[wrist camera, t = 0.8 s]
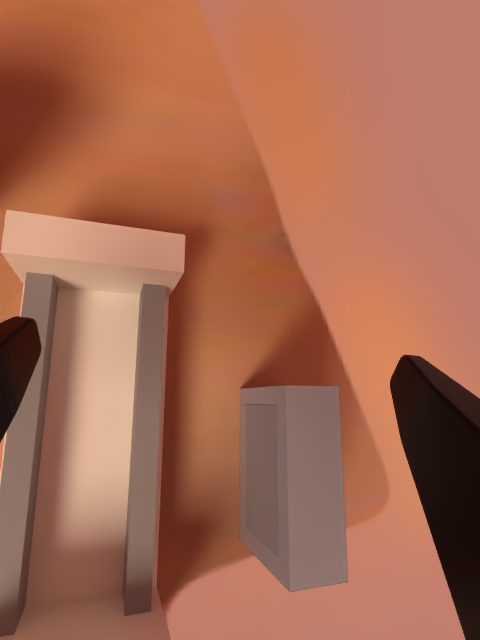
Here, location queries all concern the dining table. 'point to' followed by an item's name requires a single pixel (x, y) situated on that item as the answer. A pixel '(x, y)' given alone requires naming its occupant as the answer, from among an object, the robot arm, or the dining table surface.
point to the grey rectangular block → (293, 483)
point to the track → (87, 432)
